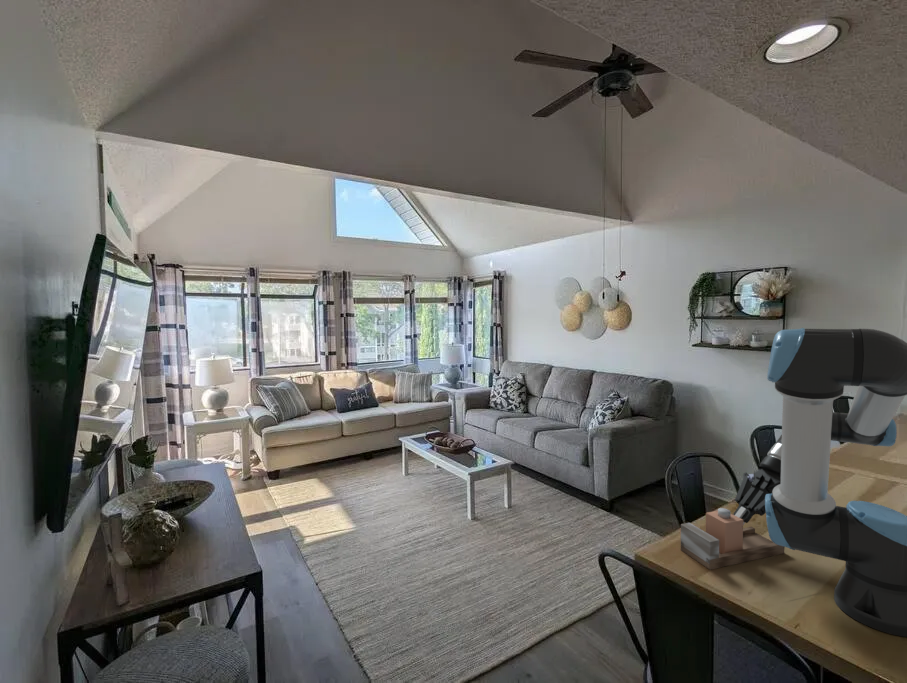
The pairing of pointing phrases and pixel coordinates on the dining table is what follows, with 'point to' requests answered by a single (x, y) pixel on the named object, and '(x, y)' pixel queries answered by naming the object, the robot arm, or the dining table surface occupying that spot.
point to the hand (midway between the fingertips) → (733, 528)
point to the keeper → (725, 530)
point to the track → (709, 556)
